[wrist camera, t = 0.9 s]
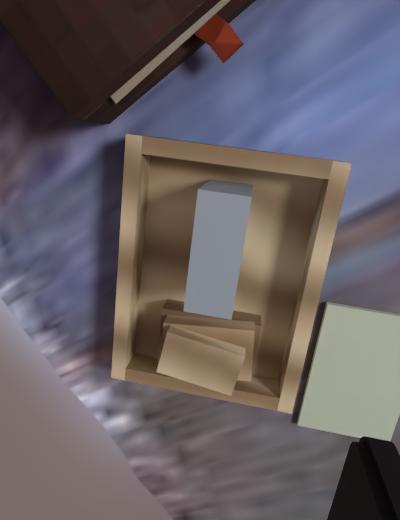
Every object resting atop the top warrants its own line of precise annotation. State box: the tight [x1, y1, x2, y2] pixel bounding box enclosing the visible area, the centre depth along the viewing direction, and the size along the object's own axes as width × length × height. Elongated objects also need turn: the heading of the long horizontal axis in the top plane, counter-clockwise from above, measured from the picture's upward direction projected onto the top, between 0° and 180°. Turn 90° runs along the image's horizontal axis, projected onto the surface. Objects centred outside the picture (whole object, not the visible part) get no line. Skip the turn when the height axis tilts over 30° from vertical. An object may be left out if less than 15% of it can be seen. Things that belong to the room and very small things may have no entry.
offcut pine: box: [156, 325, 246, 396], centre depth 29 cm, size 4×6×1 cm, turn 75°
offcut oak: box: [163, 315, 255, 381], centre depth 30 cm, size 4×7×2 cm, turn 89°
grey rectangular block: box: [183, 179, 253, 320], centre depth 27 cm, size 8×3×7 cm, turn 173°
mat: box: [297, 302, 400, 441], centre depth 32 cm, size 12×8×1 cm, turn 173°
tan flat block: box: [157, 299, 261, 372], centre depth 32 cm, size 5×8×2 cm, turn 83°
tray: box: [111, 134, 352, 414], centre depth 30 cm, size 20×15×3 cm
